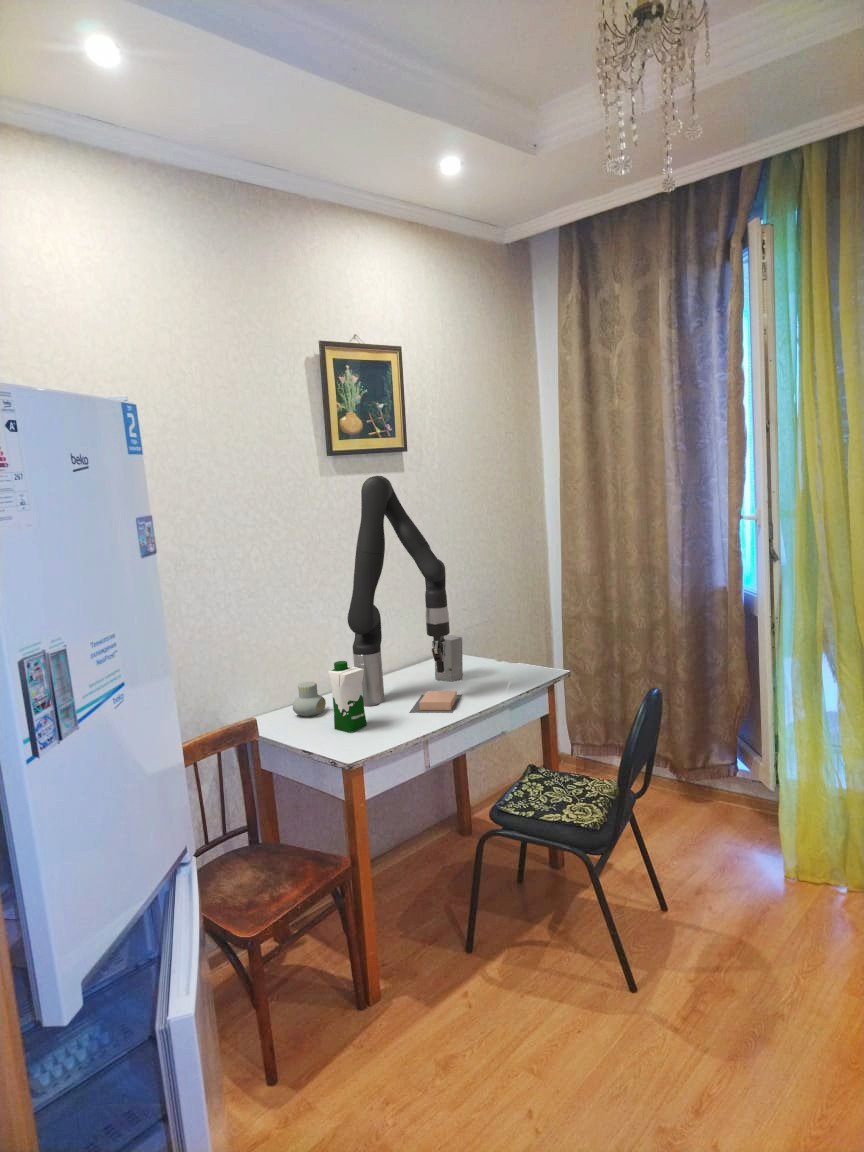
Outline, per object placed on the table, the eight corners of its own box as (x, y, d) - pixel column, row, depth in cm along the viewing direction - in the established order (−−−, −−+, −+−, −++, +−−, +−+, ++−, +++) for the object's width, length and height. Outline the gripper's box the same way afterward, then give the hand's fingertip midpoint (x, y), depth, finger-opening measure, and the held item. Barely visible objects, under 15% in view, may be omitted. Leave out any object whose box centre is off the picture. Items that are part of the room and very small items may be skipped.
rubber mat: (409, 713, 238) (409, 712, 238) (422, 695, 257) (422, 694, 257) (452, 714, 235) (452, 712, 235) (462, 695, 254) (462, 694, 254)
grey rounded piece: (314, 719, 239) (311, 689, 238) (290, 719, 241) (287, 688, 240) (328, 708, 249) (326, 679, 248) (305, 708, 252) (303, 679, 250)
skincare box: (434, 680, 275) (432, 637, 273) (447, 675, 280) (444, 633, 278) (452, 683, 269) (450, 639, 267) (465, 678, 275) (462, 635, 273)
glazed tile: (427, 699, 251) (419, 710, 240) (427, 691, 251) (419, 702, 239) (457, 698, 249) (450, 710, 238) (456, 691, 249) (450, 702, 237)
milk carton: (351, 721, 235) (345, 658, 232) (371, 726, 229) (366, 661, 227) (329, 729, 229) (324, 665, 226) (350, 734, 223) (345, 668, 220)
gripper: (430, 616, 254) (433, 666, 257) (422, 624, 241) (425, 677, 244) (452, 616, 253) (455, 666, 255) (445, 624, 240) (448, 677, 242)
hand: (440, 671), depth 249 cm, fingers closed
